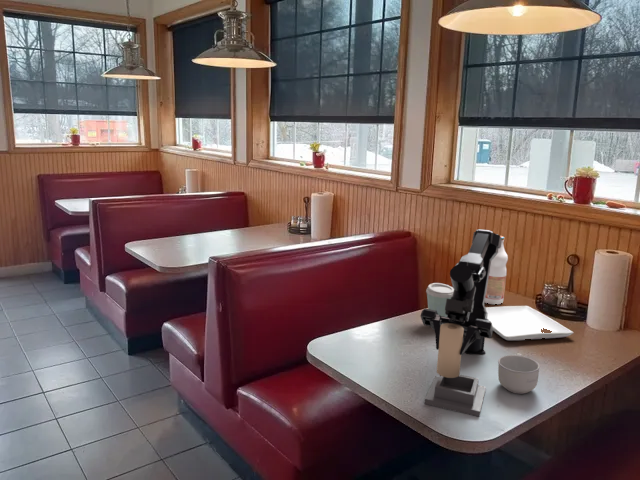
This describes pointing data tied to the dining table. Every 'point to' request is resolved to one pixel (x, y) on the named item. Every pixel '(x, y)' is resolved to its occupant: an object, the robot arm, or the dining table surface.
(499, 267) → the fruit juice
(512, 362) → the teacup
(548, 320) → the square plate
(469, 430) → the dining table surface
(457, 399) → the roll caddy
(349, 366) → the dining table surface
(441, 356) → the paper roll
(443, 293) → the disposable coffee cup
